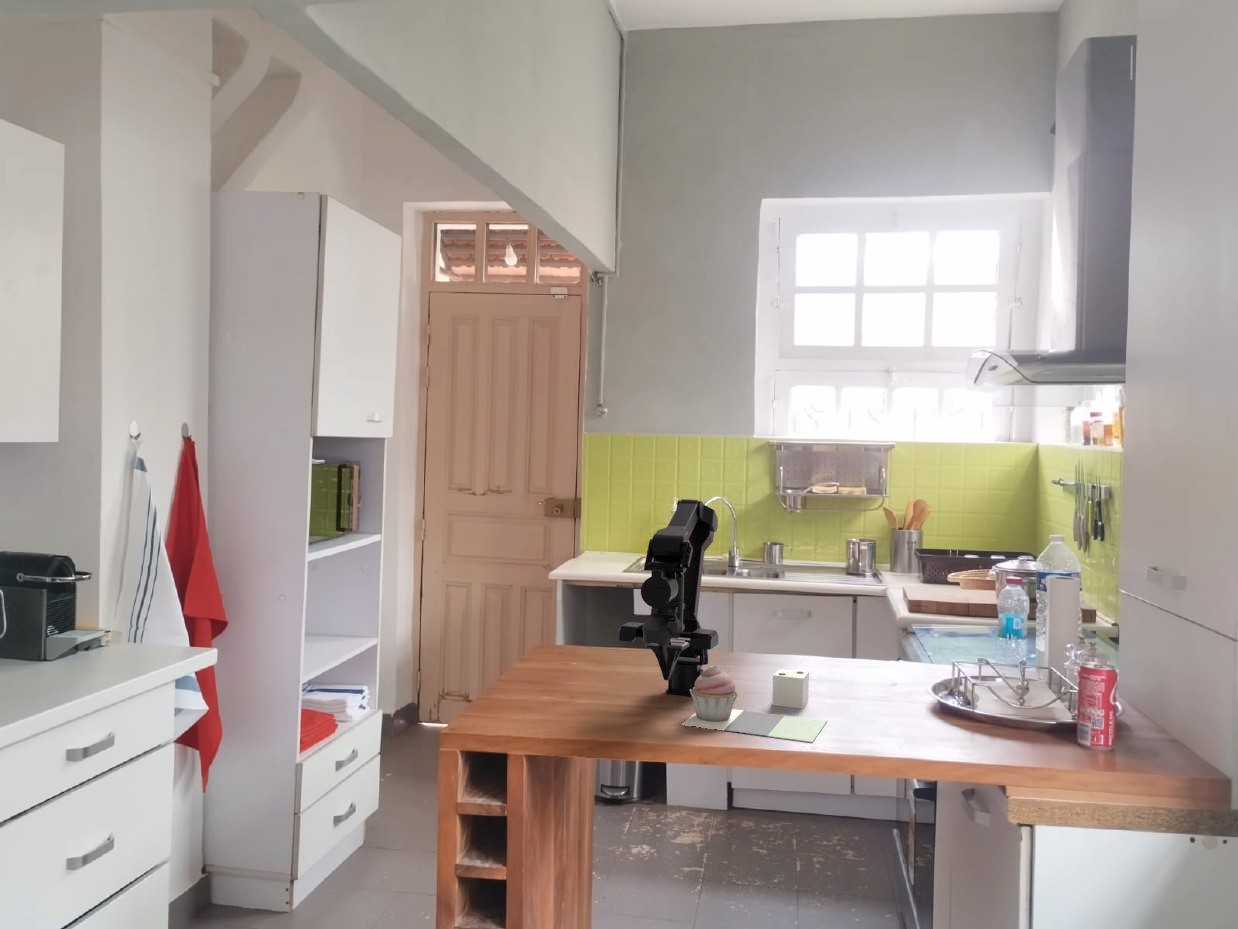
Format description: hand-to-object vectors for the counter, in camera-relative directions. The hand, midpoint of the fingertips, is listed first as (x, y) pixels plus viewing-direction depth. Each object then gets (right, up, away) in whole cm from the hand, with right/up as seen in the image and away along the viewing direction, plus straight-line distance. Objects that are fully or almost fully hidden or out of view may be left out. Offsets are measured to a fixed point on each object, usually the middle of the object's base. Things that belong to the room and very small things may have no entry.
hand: (666, 680), depth 187 cm
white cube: (+25, -7, +8) cm, 27 cm away
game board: (+16, -7, -6) cm, 19 cm away
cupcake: (+9, -6, -4) cm, 11 cm away
